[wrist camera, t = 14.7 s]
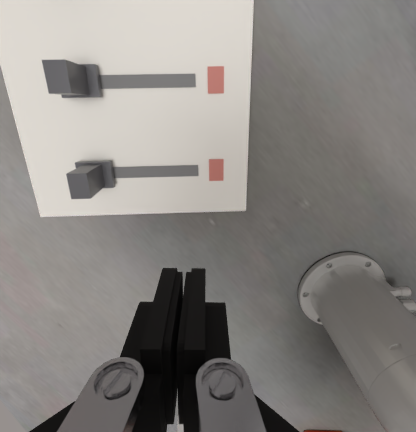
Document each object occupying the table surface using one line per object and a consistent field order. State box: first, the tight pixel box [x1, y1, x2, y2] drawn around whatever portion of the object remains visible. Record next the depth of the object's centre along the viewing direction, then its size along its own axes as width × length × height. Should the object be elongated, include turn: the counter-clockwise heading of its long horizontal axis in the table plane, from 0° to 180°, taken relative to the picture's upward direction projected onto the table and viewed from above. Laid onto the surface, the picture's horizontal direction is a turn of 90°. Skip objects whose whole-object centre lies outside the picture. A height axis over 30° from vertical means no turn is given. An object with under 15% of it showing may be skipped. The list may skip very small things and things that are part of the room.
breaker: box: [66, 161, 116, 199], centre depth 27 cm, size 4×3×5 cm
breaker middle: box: [42, 59, 102, 98], centre depth 24 cm, size 4×3×5 cm
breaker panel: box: [0, 0, 254, 217], centre depth 28 cm, size 24×28×3 cm
